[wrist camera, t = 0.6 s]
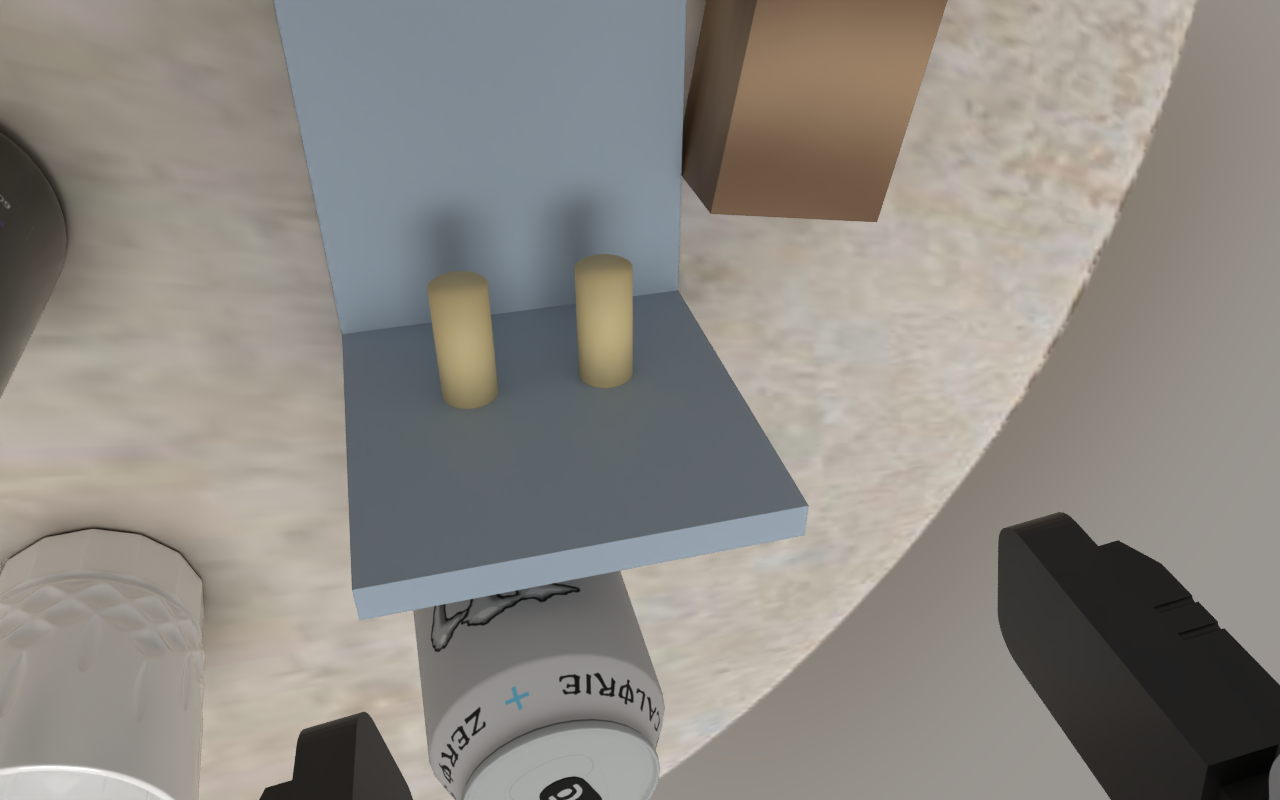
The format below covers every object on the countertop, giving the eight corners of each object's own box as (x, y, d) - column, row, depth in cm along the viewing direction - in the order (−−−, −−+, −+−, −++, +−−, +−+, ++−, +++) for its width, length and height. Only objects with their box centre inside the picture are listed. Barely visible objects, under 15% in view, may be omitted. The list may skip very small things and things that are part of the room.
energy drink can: (516, 325, 33) (626, 672, 21) (589, 443, 37) (717, 794, 25) (360, 407, 33) (384, 794, 22) (448, 515, 37) (509, 896, 25)
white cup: (226, 664, 38) (202, 911, 31) (-7, 680, 36) (-97, 955, 28) (217, 510, 34) (187, 751, 26) (-47, 516, 32) (-166, 786, 24)
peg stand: (181, -468, 20) (61, -611, 11) (688, -450, 23) (954, -552, 13) (347, 347, 32) (359, 620, 22) (670, 304, 34) (804, 535, 25)
